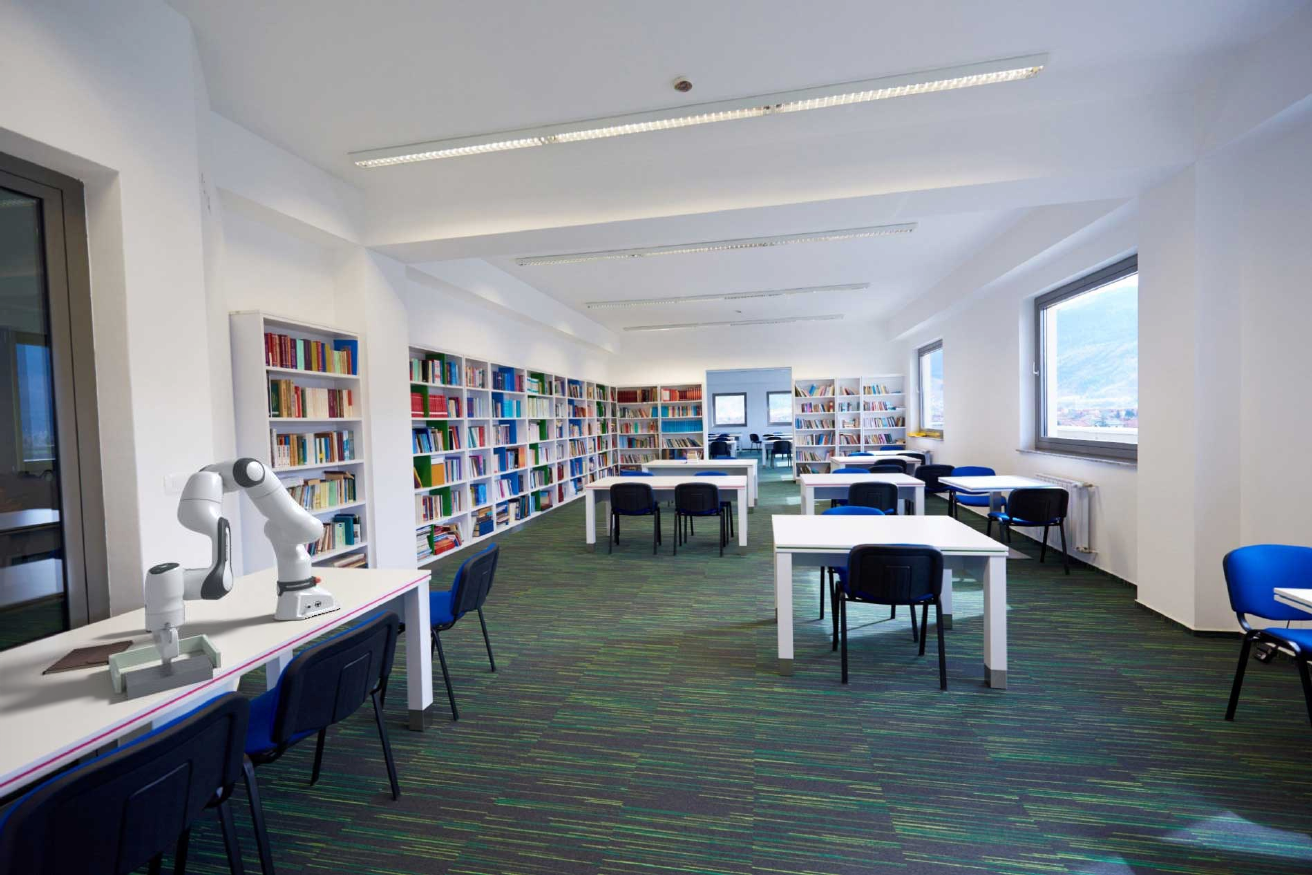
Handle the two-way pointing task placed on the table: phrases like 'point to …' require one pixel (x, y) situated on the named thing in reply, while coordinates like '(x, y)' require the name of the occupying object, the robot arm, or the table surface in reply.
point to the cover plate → (168, 676)
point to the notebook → (88, 657)
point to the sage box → (159, 656)
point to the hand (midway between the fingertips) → (166, 666)
